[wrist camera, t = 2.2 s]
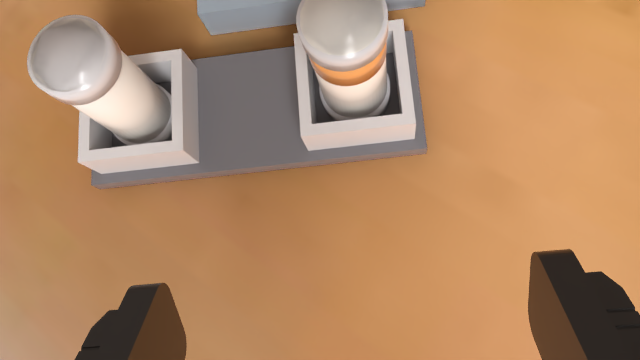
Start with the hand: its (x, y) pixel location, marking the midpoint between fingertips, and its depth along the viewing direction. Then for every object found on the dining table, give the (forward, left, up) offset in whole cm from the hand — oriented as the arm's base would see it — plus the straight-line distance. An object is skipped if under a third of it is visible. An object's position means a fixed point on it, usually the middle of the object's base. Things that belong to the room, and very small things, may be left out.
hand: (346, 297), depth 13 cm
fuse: (+12, -12, -17) cm, 24 cm away
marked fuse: (0, -12, -17) cm, 20 cm away
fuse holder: (+6, -12, -18) cm, 22 cm away
